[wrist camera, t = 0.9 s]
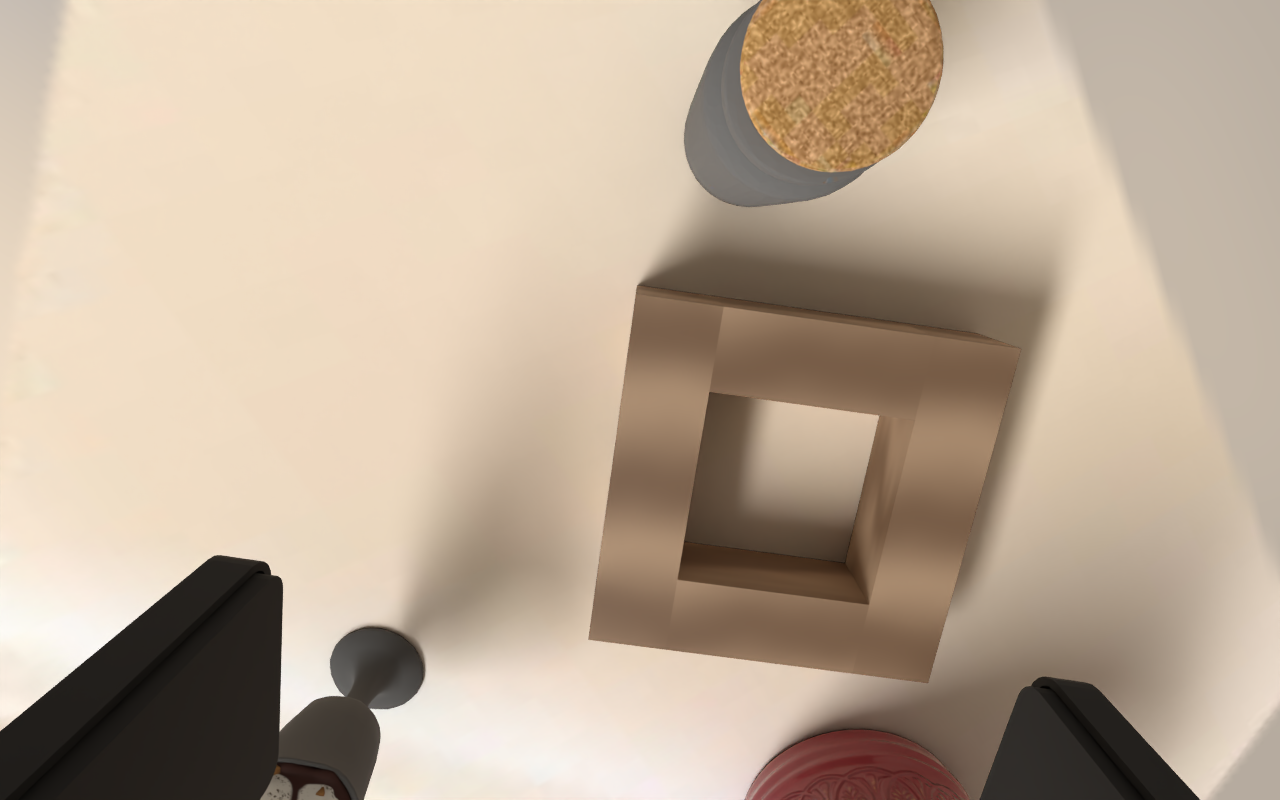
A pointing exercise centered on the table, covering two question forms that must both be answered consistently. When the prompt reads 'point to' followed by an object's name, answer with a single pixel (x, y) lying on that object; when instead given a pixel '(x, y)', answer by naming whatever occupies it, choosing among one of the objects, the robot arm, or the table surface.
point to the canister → (856, 770)
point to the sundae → (345, 720)
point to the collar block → (889, 504)
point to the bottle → (811, 96)
